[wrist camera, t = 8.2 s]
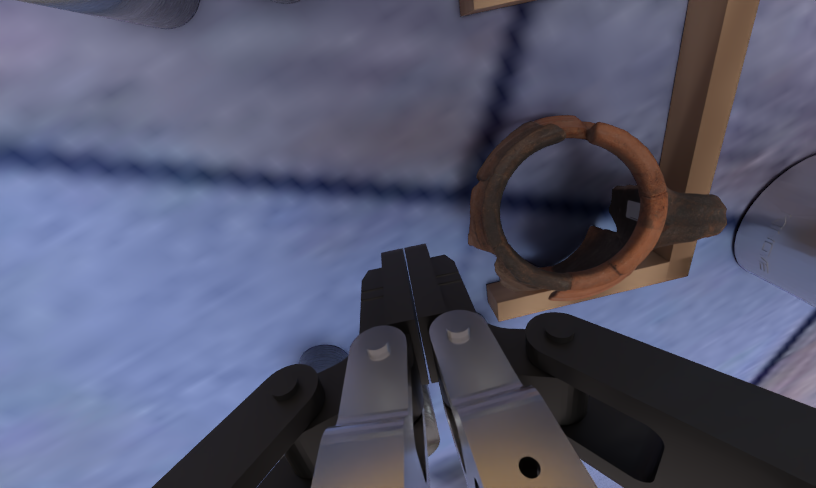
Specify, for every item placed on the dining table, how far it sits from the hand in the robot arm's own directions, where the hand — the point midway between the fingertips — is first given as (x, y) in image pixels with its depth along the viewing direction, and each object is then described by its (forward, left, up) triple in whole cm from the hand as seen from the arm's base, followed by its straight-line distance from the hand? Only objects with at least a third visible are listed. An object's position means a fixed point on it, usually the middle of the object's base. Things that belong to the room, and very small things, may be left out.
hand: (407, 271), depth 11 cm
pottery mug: (-9, +3, -8) cm, 13 cm away
